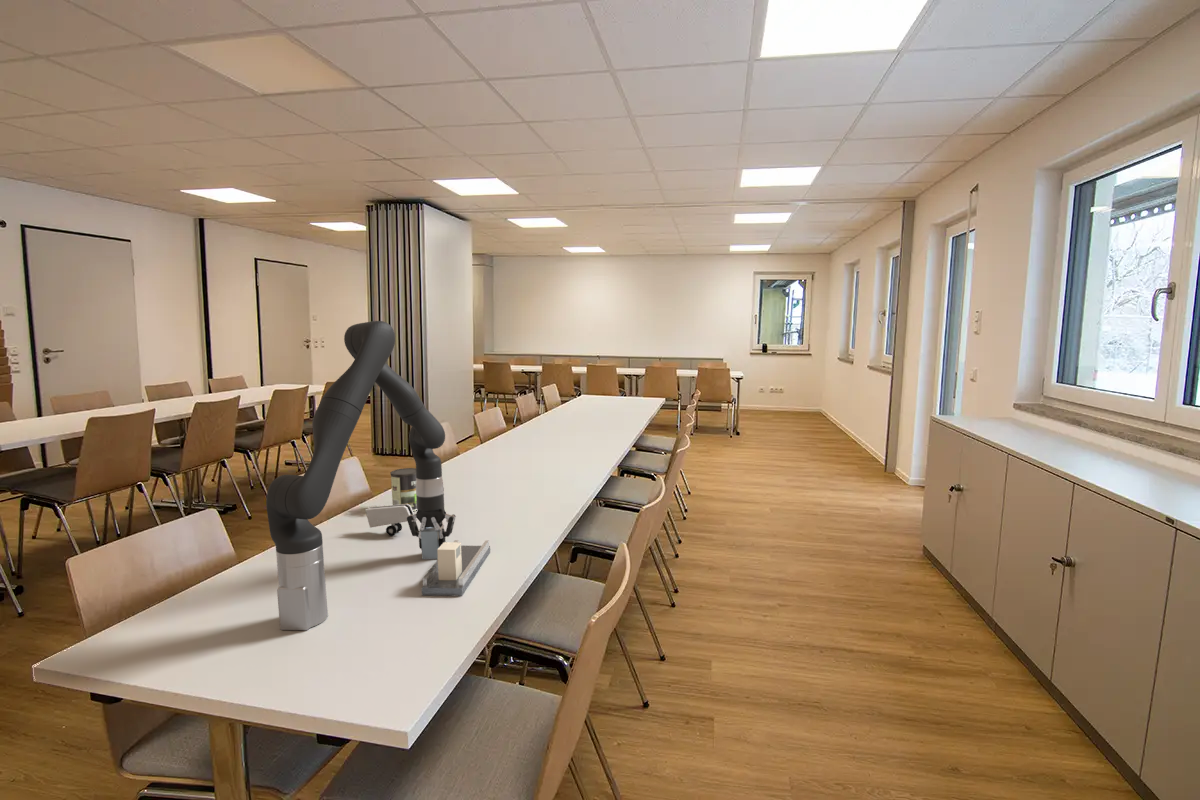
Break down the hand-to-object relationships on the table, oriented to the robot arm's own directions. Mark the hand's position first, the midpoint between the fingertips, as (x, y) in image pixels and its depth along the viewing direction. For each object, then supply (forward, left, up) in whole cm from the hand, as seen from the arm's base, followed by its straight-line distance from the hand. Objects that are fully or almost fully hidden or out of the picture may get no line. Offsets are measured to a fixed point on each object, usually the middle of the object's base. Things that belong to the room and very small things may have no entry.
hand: (432, 549), depth 167 cm
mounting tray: (-11, -11, -2) cm, 16 cm away
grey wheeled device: (+18, +27, +1) cm, 33 cm away
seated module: (-18, -11, 0) cm, 21 cm away
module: (0, 0, -2) cm, 2 cm away
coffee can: (+44, +25, -2) cm, 51 cm away
